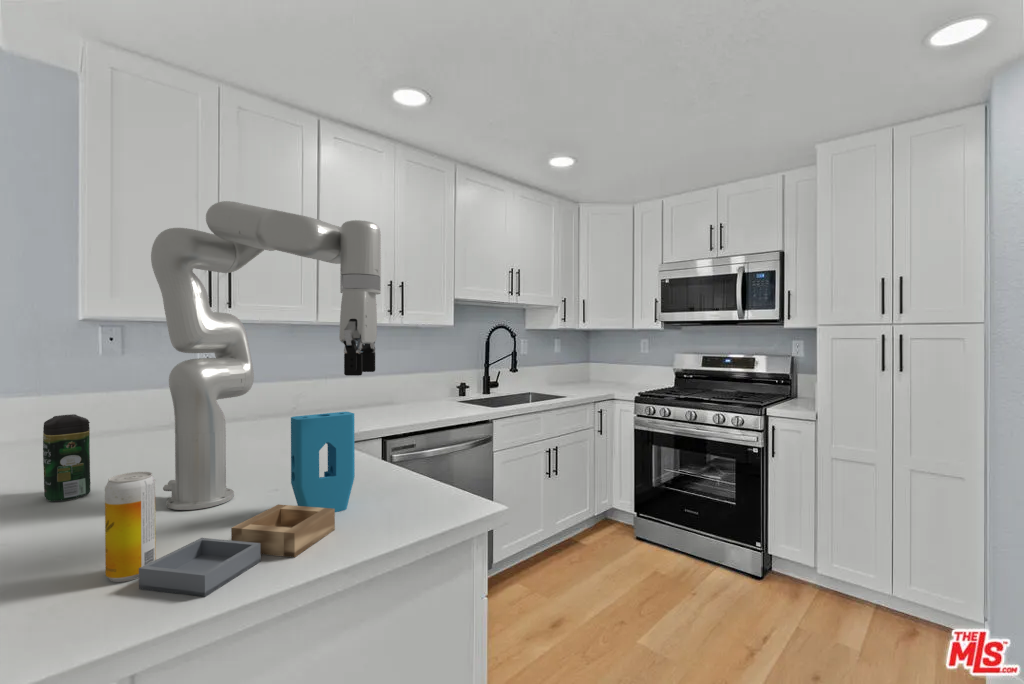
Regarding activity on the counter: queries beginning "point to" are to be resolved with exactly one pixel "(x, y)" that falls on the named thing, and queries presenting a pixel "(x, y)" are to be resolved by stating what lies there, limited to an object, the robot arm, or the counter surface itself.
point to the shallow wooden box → (286, 529)
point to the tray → (199, 567)
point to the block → (305, 448)
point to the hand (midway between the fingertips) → (360, 373)
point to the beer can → (129, 525)
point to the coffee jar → (66, 457)
